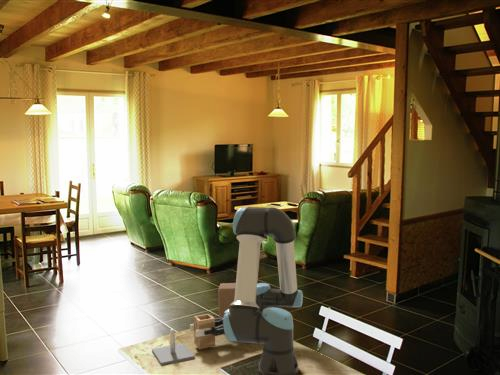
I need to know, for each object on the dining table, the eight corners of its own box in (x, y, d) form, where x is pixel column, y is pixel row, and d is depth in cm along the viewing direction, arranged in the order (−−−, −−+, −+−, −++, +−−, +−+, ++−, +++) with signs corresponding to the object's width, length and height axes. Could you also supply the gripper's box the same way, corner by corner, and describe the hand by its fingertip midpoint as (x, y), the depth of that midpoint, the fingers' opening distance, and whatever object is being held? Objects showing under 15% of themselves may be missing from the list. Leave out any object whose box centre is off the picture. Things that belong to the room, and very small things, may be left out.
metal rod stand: (194, 358, 197) (194, 332, 196) (161, 365, 191) (160, 338, 190) (183, 345, 211) (182, 320, 210) (151, 351, 205) (151, 326, 204)
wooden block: (240, 329, 228) (239, 288, 226) (219, 330, 228) (218, 288, 226) (241, 322, 238) (240, 282, 236) (220, 322, 238) (219, 282, 236)
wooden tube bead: (215, 346, 205) (214, 318, 205) (199, 349, 202) (199, 321, 202) (209, 340, 212) (208, 313, 211) (194, 343, 209) (193, 316, 208)
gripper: (252, 337, 206) (201, 347, 196) (233, 323, 223) (186, 331, 214) (252, 320, 205) (200, 329, 195) (233, 307, 223) (185, 315, 213)
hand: (193, 330), depth 204 cm, fingers closed on wooden tube bead, 7 cm apart
